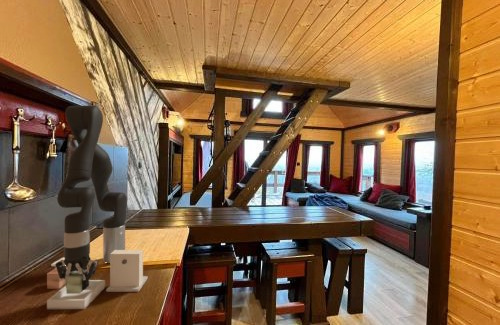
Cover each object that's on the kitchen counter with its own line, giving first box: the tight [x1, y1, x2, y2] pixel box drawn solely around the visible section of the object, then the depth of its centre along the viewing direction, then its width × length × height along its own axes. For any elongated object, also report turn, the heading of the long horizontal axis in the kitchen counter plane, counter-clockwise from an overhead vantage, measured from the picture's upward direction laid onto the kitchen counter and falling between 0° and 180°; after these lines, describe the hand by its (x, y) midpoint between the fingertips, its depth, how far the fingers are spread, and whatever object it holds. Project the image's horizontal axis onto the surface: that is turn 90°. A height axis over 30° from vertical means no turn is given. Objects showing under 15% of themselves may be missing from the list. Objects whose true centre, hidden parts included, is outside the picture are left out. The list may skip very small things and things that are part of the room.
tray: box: [46, 279, 106, 311], centre depth 84 cm, size 12×12×3 cm
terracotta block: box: [46, 267, 68, 290], centre depth 91 cm, size 4×4×6 cm
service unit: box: [105, 249, 149, 293], centre depth 93 cm, size 9×12×14 cm
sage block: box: [65, 271, 83, 294], centre depth 84 cm, size 4×4×6 cm
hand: (77, 288), depth 84 cm, fingers closed on sage block, 4 cm apart
